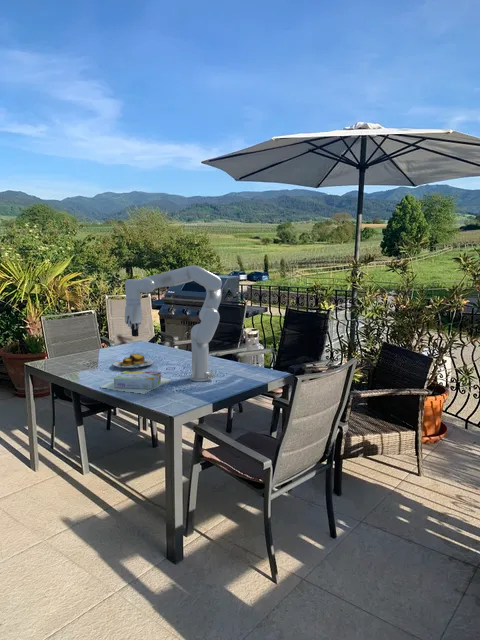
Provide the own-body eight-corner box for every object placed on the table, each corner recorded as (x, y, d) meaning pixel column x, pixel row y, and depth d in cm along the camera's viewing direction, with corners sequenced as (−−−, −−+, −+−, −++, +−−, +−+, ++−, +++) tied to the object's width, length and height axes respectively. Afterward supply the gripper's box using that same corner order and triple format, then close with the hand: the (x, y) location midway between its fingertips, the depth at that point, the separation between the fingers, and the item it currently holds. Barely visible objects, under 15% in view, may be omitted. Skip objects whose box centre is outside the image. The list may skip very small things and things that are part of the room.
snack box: (160, 371, 236) (152, 379, 222) (161, 381, 237) (152, 390, 223) (124, 370, 239) (113, 378, 224) (124, 379, 240) (113, 388, 225)
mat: (171, 380, 242) (171, 379, 242) (143, 394, 217) (143, 393, 217) (130, 374, 252) (130, 373, 252) (99, 388, 227) (99, 386, 227)
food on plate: (104, 369, 265) (103, 359, 264) (128, 360, 288) (128, 350, 287) (138, 373, 256) (138, 362, 255) (161, 363, 279) (160, 354, 278)
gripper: (135, 300, 234) (137, 333, 237) (118, 303, 221) (120, 338, 223) (147, 300, 232) (148, 334, 235) (131, 304, 218) (133, 339, 221)
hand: (135, 336), depth 229 cm, fingers closed
